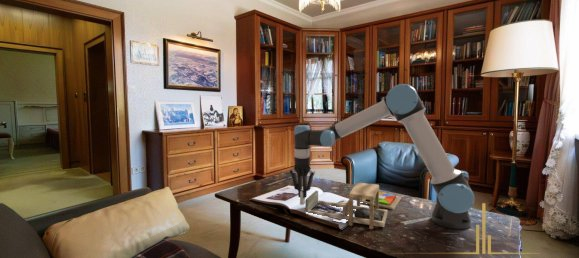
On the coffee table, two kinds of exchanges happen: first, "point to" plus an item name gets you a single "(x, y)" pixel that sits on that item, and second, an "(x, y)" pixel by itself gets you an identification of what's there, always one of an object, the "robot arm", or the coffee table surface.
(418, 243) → the coffee table surface
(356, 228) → the coffee table surface
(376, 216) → the rock
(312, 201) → the sled
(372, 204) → the stool
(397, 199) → the wooden puzzle
